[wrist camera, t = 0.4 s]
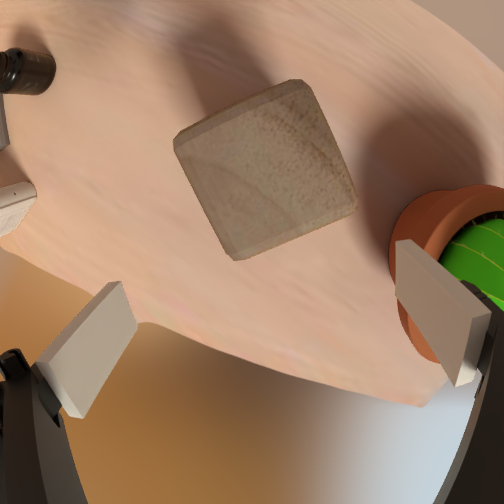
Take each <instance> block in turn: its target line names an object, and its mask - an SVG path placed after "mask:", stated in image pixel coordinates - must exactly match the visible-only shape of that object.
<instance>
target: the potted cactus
mask: <svg viewBox="0 0 504 504" xmlns="http://www.w3.org/2000/svg"><path fill="white" fill-rule="evenodd" d="M408 239H411V240H412V241H413V242H414V243H416V244H417V245H418V246H419V247H420V248H422V249H423V250H424V251H425V252H426V253H428V254H429V255H430V256H431V257H432V258H433V259H435V260H436V261H437V262H438V263H439V264H440V265H442V266H443V267H444V268H445V269H446V270H447V271H448V272H450V273H451V274H452V275H453V276H454V277H455V278H456V279H457V280H458V281H461V280H465V281H468V282H470V283H472V284H474V285H476V286H477V287H478V288H479V289H480V290H481V291H482V292H483V293H484V294H486V295H487V296H488V298H490V299H491V300H492V301H493V302H494V303H495V304H496V305H497V306H499V307H500V308H501V309H502V310H503V311H504V189H503V188H500V187H497V186H492V185H472V186H467V187H463V188H460V189H458V190H455V191H450V190H439V191H433V192H430V193H427V194H424V195H422V196H420V197H418V198H417V199H415V200H414V201H413V202H411V203H410V204H409V205H408V206H407V207H406V208H405V210H404V211H403V212H402V214H401V215H400V217H399V218H398V220H397V222H396V225H395V227H394V230H393V233H392V237H391V241H390V247H389V266H390V272H391V276H392V279H393V282H394V284H395V281H396V243H395V241H401V240H408ZM397 304H398V312H399V317H400V320H401V323H402V326H403V328H404V330H405V332H406V334H407V335H408V337H409V339H410V340H411V342H412V344H413V345H414V347H415V348H416V350H417V351H418V352H419V353H420V354H421V355H422V356H423V357H424V358H426V359H428V360H430V361H432V362H435V363H439V364H440V362H439V360H438V359H437V357H436V356H435V354H434V352H433V351H432V349H431V348H430V346H429V345H428V343H427V341H426V340H425V338H424V337H423V335H422V334H421V332H420V331H419V329H418V328H417V326H416V325H415V323H414V322H413V320H412V319H411V317H410V316H409V314H408V313H407V311H406V310H405V308H404V307H403V306H402V304H401V303H400V301H399V300H398V298H397Z"/></svg>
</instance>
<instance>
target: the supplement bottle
mask: <svg viewBox="0 0 504 504" xmlns="http://www.w3.org/2000/svg"><path fill="white" fill-rule="evenodd" d="M55 72H56V65H55V62H54V60H53V58H52V57H51V56H49V55H45V54H42V53H38V52H34V51H30V50H25V49H21V48H10V49H8V50H6V51H5V52H0V93H2V94H19V95H39V94H42V93H43V92H45V91H46V90H47V89H48V88H49V86H50V85H51V83H52V81H53V79H54V76H55Z"/></svg>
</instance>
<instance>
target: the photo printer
mask: <svg viewBox="0 0 504 504" xmlns="http://www.w3.org/2000/svg"><path fill="white" fill-rule="evenodd" d="M36 194H37V193H36V190H35V187H34V186H33V185H32V184H31V183H28V182H27V181H25V182H21V183H17V184H13V185H9V186H6V187H2V188H0V237H1V236H3V235H5V234H8V233H10V232H12V231H13V230H15V229H16V228H17V227H18V225H19V224H20V223H21V221H22V220H23V218H24V217H25V215H26V214H27V212H28V211H29V210H30V208H31V207H32V205H33V203H34V202H35V200H36V198H37V196H36Z"/></svg>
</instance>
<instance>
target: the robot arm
mask: <svg viewBox="0 0 504 504" xmlns="http://www.w3.org/2000/svg"><path fill="white" fill-rule="evenodd" d="M395 243H396V281H395V295H396V297H397V298H398V300H399V301H400V303H401V304H402V306H403V307H404V308H405V310H406V311H407V313H408V314H409V316H410V317H411V319H412V320H413V322H414V323H415V325H416V326H417V328H418V329H419V331H420V332H421V334H422V335H423V337H424V338H425V340H426V341H427V343H428V345H429V346H430V348H431V349H432V351H433V352H434V354H435V356H436V357H437V359H438V360H439V362H440V364H441V365H442V367H443V369H444V370H445V372H446V373H447V375H448V377H449V378H450V380H451V382H452V383H453V385H454V387H457V386H460V385H463V384H466V383H469V382H471V381H473V379H474V376H475V373H476V370H477V368H478V369H479V370H480V372H481V373H482V378H481V381H480V383H479V386H478V389H477V391H476V394H475V402H474V405H473V408H472V411H471V415H470V418H469V421H468V424H467V427H466V429H465V432H464V435H463V438H462V440H461V443H460V446H459V448H458V451H457V453H456V456H455V458H454V460H453V463H452V465H451V467H450V470H449V472H448V474H447V476H446V479H445V481H444V483H443V485H442V487H441V489H440V491H439V493H438V495H437V497H436V499H435V501H434V503H433V504H504V311H503V310H502V309H501V308H500V307H499V306H497V305H496V304H495V303H494V302H493V301H492V300H491V299H490V298H488V296H487V295H486V294H484V293H483V292H482V291H481V290H480V289H479V288H478V287H477V286H476V285H474V284H472V283H470V282H468V281H465V280H461V281H458V280H457V279H456V278H455V277H454V276H453V275H452V274H451V273H450V272H448V271H447V270H446V269H445V268H444V267H443V266H442V265H440V264H439V263H438V262H437V261H436V260H435V259H433V258H432V257H431V256H430V255H429V254H428V253H426V252H425V251H424V250H423V249H422V248H420V247H419V246H418V245H417V244H416V243H414V242H413V241H412V240H411V239H408V240H401V241H395ZM137 329H138V326H137V323H136V321H135V318H134V315H133V313H132V310H131V307H130V305H129V302H128V299H127V296H126V294H125V291H124V288H123V285H122V282H121V281H116V282H109V283H108V284H107V285H106V286H105V287H104V288H103V289H102V290H101V291H100V292H99V293H98V294H97V295H96V296H95V297H94V298H93V299H92V300H91V301H90V302H89V303H88V304H87V305H86V306H85V307H84V308H83V309H82V310H81V312H80V313H79V314H78V315H77V316H76V317H75V318H74V319H73V320H72V321H71V322H70V323H69V324H68V325H67V327H66V328H65V329H64V330H63V331H62V332H61V333H60V334H59V335H58V336H57V337H56V338H55V340H54V341H53V342H52V343H51V344H50V345H49V346H48V347H47V349H46V350H45V351H44V352H43V353H42V354H41V355H40V357H39V358H38V359H37V360H36V361H35V363H34V364H33V365H32V366H31V368H30V366H29V364H28V363H27V361H26V359H25V357H24V356H23V354H22V352H21V350H20V349H11V350H8V351H6V352H4V353H3V354H2V355H0V373H1V374H2V376H3V377H4V379H5V381H1V382H0V504H88V502H87V500H86V497H85V494H84V491H83V488H82V485H81V483H80V479H79V476H78V473H77V470H76V467H75V464H74V460H73V457H72V453H71V450H70V446H69V442H68V439H67V434H66V430H65V425H64V421H63V418H62V416H61V414H60V413H59V410H60V408H61V407H62V406H63V407H64V409H65V411H66V412H67V413H68V415H69V416H71V417H77V418H83V419H84V417H85V415H86V414H87V412H88V410H89V408H90V407H91V405H92V403H93V401H94V400H95V398H96V396H97V394H98V393H99V391H100V389H101V388H102V386H103V384H104V383H105V381H106V379H107V377H108V376H109V374H110V373H111V371H112V369H113V368H114V366H115V364H116V363H117V361H118V359H119V358H120V356H121V354H122V353H123V351H124V350H125V348H126V346H127V345H128V343H129V341H130V340H131V338H132V337H133V335H134V333H135V332H136V330H137Z"/></svg>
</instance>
